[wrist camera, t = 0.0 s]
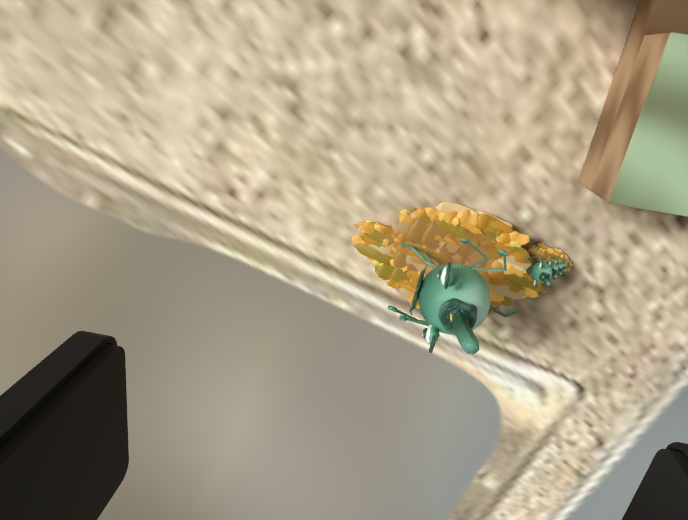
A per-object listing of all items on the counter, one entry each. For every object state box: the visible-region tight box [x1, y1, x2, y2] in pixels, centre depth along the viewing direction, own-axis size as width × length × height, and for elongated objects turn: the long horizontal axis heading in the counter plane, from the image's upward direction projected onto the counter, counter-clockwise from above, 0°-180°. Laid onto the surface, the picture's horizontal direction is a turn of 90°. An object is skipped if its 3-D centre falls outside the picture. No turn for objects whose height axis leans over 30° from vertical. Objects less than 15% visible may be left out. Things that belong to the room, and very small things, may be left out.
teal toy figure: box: [351, 202, 573, 354], centre depth 35 cm, size 10×18×15 cm, turn 76°
